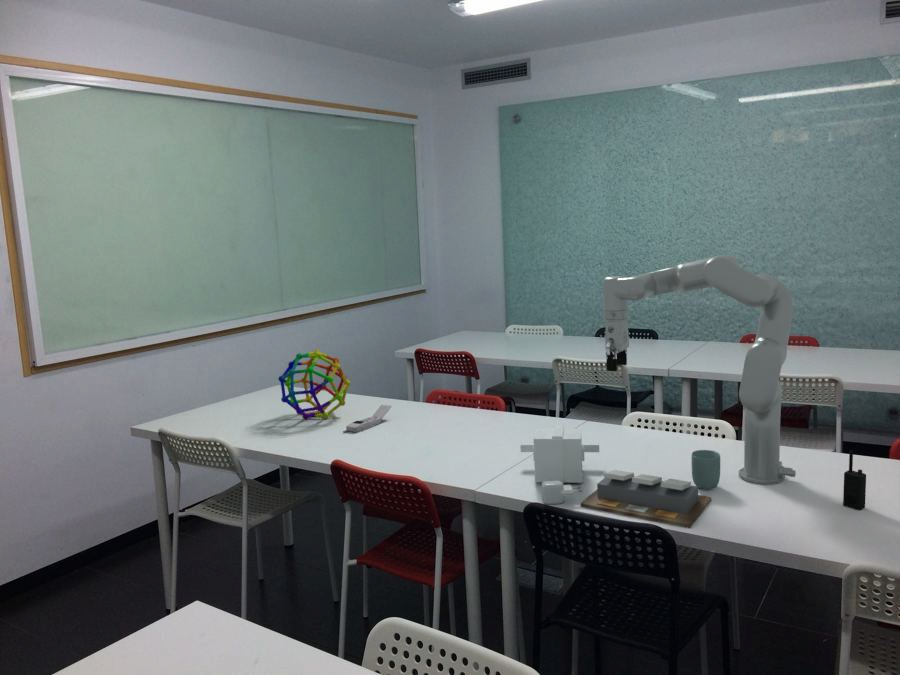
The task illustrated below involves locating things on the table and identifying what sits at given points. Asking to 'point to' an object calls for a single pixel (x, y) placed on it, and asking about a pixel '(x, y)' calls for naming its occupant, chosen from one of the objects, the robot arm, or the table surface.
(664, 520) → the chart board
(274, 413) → the table surface
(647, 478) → the rocker
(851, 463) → the walkie-talkie
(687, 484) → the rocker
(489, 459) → the table surface
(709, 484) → the cup
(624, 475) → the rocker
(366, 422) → the mobile phone
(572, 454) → the blocky voxel creature
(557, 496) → the power adapter
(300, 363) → the geometric model
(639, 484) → the switch housing
